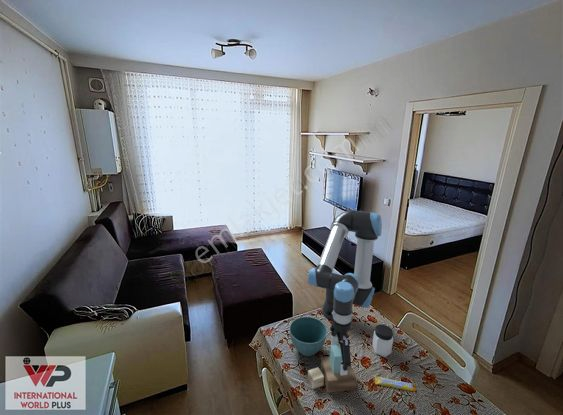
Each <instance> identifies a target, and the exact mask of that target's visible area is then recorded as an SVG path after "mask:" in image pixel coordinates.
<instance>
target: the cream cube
mask: <svg viewBox="0 0 563 415" xmlns="http://www.w3.org/2000/svg"><path fill="white" fill-rule="evenodd" d="M307 380H308V381H307V382H309V385H310V386H311V388H312V389H313V390H315V389H318V388H320V387H323V386H324V385H325V381H324V376H323V374H322V371H321V368H319V366H317V367H314V368H311V369H309V370H307Z"/></svg>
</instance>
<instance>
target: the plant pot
mask: <svg viewBox="0 0 563 415" xmlns="http://www.w3.org/2000/svg"><path fill="white" fill-rule="evenodd" d="M327 334H328V328H327V326H326V325H325V323H324V322H323V321H322V320H320V319H317V318H315V317H311V316H301V317H300V316H299V317H298V318H295V319H294V320H292V322H291V323H290V325H289V336H290V340H291V343H292V344H293V346H294V348H295V350H296V351H298V353H300V354H301V355H303V356H305V357H312V356H314V355H316V354H317V353H318V352H319V351H321V349H322V348H323V346H324V344H325V342H326V339H327Z"/></svg>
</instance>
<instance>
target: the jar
mask: <svg viewBox="0 0 563 415" xmlns="http://www.w3.org/2000/svg"><path fill="white" fill-rule="evenodd" d="M393 342H394V331H393V329H392V328H391V327H390V326H388V325H386V324H381V323H380V324H377V325H376V326H375V330H374V331H373V337H372V346H371V348H372V349H373V351H374V353H375V354H376V355H379V356H381V357H384V358H386V357H387V356H389V355H390V354H392V349H393V344H394V343H393Z"/></svg>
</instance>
